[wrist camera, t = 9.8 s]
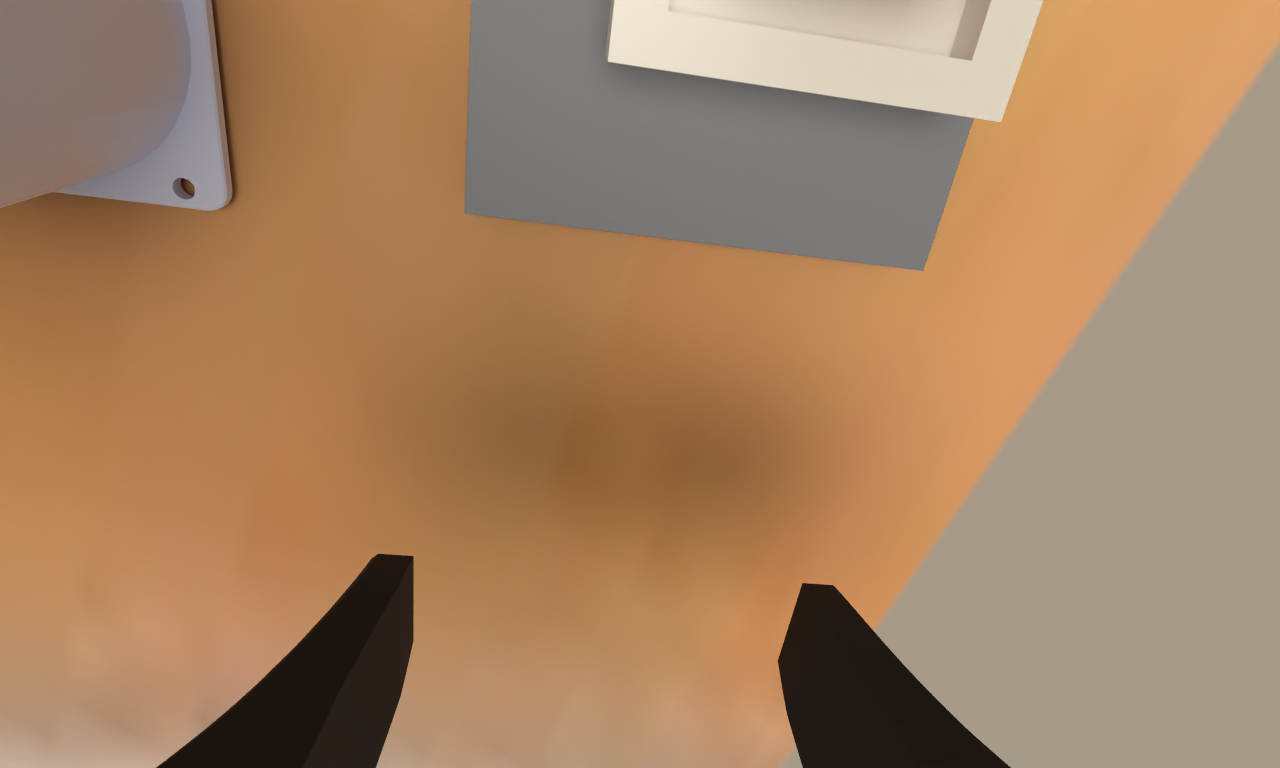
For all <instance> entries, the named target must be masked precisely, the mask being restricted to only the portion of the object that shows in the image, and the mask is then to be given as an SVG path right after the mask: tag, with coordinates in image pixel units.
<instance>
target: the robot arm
mask: <svg viewBox="0 0 1280 768" xmlns="http://www.w3.org/2000/svg"><path fill="white" fill-rule="evenodd" d="M182 178H184V179H187V180H189V181H190V182H191V183H192V184H193V186H194V188H195V195H194V196H191V195H189V194H187V193H186V192H185V191H184V190H183V189H182V186H181V179H182ZM51 192H57V193H65V194H73V195H82V196H90V197H98V198H107V199H115V200H123V201H131V202H140V203H148V204H156V205H165V206H173V207H181V208H189V209H198V210H206V211H213V210H218V209H220V208H222V207H224V206H226V205H227V204H228V203H229V202H230V200H231V199H232V182H231V173H230V164H229V155H228V146H227V137H226V128H225V119H224V110H223V101H222V92H221V83H220V74H219V65H218V56H217V47H216V38H215V29H214V20H213V11H212V2H211V0H0V208H3V207H6V206H10V205H13V204H16V203H19V202H22V201H25V200H29V199H32V198H35V197H38V196H41V195H44V194H48V193H51ZM412 644H413V556H402V555H387V554H377V555H376V556H375V557H373V558H372V559H371V560H370V562H369V563H368V564H367V565H366V567H365V568H364V569H363V571H362V572H361V573H360V574H359V576H358V577H357V578H356V579H355V581H354V582H353V583H352V584H351V585H350V587H349V588H348V589H347V590H346V591H345V593H344V594H343V595H342V596H341V597H340V598H339V599H338V601H337V602H336V603H335V604H334V605H333V606H332V608H331V609H330V610H329V611H328V612H327V613H326V614H325V615H324V616H323V617H322V619H321V620H320V621H319V622H318V623H317V624H316V625H315V626H314V627H313V628H312V629H311V631H310V632H309V633H308V634H307V635H306V636H305V637H304V638H303V639H302V640H301V641H300V642H299V643H298V644H297V645H296V646H295V647H294V649H293V650H291V651H290V652H289V653H288V654H287V655H286V656H285V657H284V658H283V659H282V660H281V661H280V662H279V663H278V664H277V665H276V666H275V667H274V668H273V669H272V670H271V671H270V672H269V673H268V674H267V675H266V676H265V677H264V678H263V679H262V680H261V681H260V682H259V683H258V684H257V685H256V686H254V687H253V688H252V689H251V690H250V691H249V692H248V693H247V694H246V695H245V696H243V697H242V698H241V699H240V700H239V701H238V702H237V703H236V704H234V705H233V706H232V707H231V708H230V709H229V710H228V711H226V712H225V713H224V714H223V715H222V716H221V717H219V718H218V719H217V720H216V721H215V722H213V723H212V724H211V725H210V726H209V727H208V728H206V729H205V730H204V731H203V732H201V733H200V734H199V735H198V736H196V737H195V738H194V739H193V740H191V741H190V742H189V743H187V744H186V745H185V746H184V747H182V748H181V749H180V750H178V751H177V752H176V753H175V754H173V755H172V756H171V757H170V758H168V759H167V760H166V761H164V762H163V763H162V764H160V765H159V766H158V767H156V768H376V765H377V763H378V760H379V757H380V754H381V751H382V748H383V745H384V743H385V740H386V737H387V734H388V731H389V728H390V725H391V722H392V720H393V717H394V714H395V711H396V708H397V705H398V702H399V699H400V696H401V692H402V688H403V684H404V679H405V675H406V671H407V666H408V662H409V658H410V653H411V649H412ZM778 664H779V670H780V677H781V683H782V689H783V695H784V700H785V705H786V711H787V715H788V719H789V722H790V726H791V729H792V733H793V736H794V739H795V743H796V746H797V749H798V752H799V756H800V759H801V763H802V766H803V768H1010V767H1009V766H1008V765H1007V764H1006V763H1005V762H1004V761H1002V760H1001V759H1000V758H999V757H998V756H997V755H995V754H994V753H993V752H992V751H991V750H990V749H989V748H988V747H986V746H985V745H984V744H983V743H982V742H981V741H980V740H978V739H977V738H976V737H975V736H974V735H973V734H972V733H971V732H970V731H968V729H966V728H965V727H964V726H963V725H962V724H961V723H960V722H959V721H958V720H957V719H956V718H955V717H954V716H953V715H952V714H951V713H950V712H949V711H948V710H946V708H945V707H944V706H943V705H942V704H941V703H940V702H939V701H938V700H937V699H936V698H935V697H934V696H933V695H932V694H931V693H930V692H929V691H928V690H927V689H926V688H925V687H924V686H923V685H922V684H921V683H920V682H919V681H918V680H917V679H916V678H915V677H914V675H913V674H912V673H911V672H910V671H909V670H908V669H907V668H906V667H905V666H904V665H903V664H902V662H901V661H900V660H899V659H898V658H897V657H896V656H895V655H894V654H893V653H892V651H891V650H890V649H889V648H888V647H887V646H886V645H885V644H884V643H883V642H882V640H881V639H880V638H879V637H878V636H877V634H876V633H875V632H874V631H873V630H872V629H871V628H870V626H869V625H868V624H867V623H866V622H865V621H864V620H863V618H862V617H861V616H860V615H859V614H858V613H857V611H856V610H855V609H854V608H853V607H852V606H851V605H850V603H849V602H848V601H847V600H846V599H845V598H844V597H843V595H842V594H841V593H840V592H839V591H838V590H837V589H836V588H835V587H834V586H833V585H821V584H807V583H802V587H801V590H800V593H799V596H798V599H797V602H796V605H795V609H794V612H793V615H792V618H791V621H790V624H789V627H788V631H787V634H786V637H785V640H784V643H783V646H782V649H781V653H780V656H779V659H778Z"/></svg>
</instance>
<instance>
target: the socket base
mask: <svg viewBox="0 0 1280 768" xmlns="http://www.w3.org/2000/svg"><path fill="white" fill-rule="evenodd" d="M1042 3H1043V0H611V6H610V15H609V24H608V33H607V42H606V51H605V56H606V59H607V61H608V62H613V63H619V64H626V65H632V66H639V67H646V68H652V69H659V70H665V71H672V72H678V73H685V74H691V75H698V76H704V77H711V78H717V79H724V80H730V81H737V82H743V83H750V84H756V85H763V86H769V87H776V88H782V89H789V90H795V91H802V92H808V93H815V94H821V95H828V96H834V97H841V98H847V99H854V100H860V101H867V102H873V103H880V104H886V105H893V106H899V107H906V108H913V109H919V110H926V111H932V112H939V113H945V114H952V115H958V116H965V117H971V118H978V119H984V120H991V121H997V122H1001V120H1002V118H1003V115H1004V112H1005V109H1006V106H1007V103H1008V100H1009V97H1010V95H1011V92H1012V89H1013V86H1014V83H1015V80H1016V77H1017V75H1018V72H1019V69H1020V66H1021V63H1022V60H1023V57H1024V54H1025V52H1026V49H1027V46H1028V43H1029V40H1030V37H1031V34H1032V32H1033V29H1034V26H1035V23H1036V20H1037V17H1038V14H1039V11H1040V9H1041V6H1042Z"/></svg>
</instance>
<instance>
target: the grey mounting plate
mask: <svg viewBox="0 0 1280 768" xmlns="http://www.w3.org/2000/svg"><path fill="white" fill-rule="evenodd" d="M610 6H611V0H472V1H471V32H470V62H469V92H468V123H467V153H466V184H465V213H466V214H473V215H481V216H489V217H497V218H505V219H513V220H521V221H529V222H537V223H545V224H553V225H561V226H569V227H577V228H585V229H593V230H601V231H609V232H617V233H625V234H633V235H641V236H649V237H657V238H665V239H673V240H681V241H689V242H697V243H705V244H713V245H721V246H729V247H737V248H745V249H753V250H761V251H769V252H777V253H785V254H793V255H800V256H808V257H816V258H824V259H832V260H840V261H848V262H856V263H864V264H872V265H880V266H888V267H896V268H904V269H912V270H920V271H923V270H924V267H925V264H926V261H927V258H928V255H929V252H930V249H931V246H932V243H933V240H934V237H935V234H936V231H937V228H938V225H939V222H940V219H941V216H942V213H943V210H944V207H945V204H946V201H947V198H948V195H949V192H950V189H951V186H952V183H953V180H954V177H955V174H956V171H957V168H958V165H959V162H960V159H961V156H962V152H963V149H964V146H965V143H966V140H967V137H968V134H969V131H970V128H971V125H972V122H973V119H974V118H971V117H965V116H958V115H952V114H945V113H939V112H932V111H926V110H919V109H913V108H906V107H899V106H893V105H886V104H880V103H873V102H867V101H860V100H854V99H847V98H841V97H834V96H828V95H821V94H815V93H808V92H802V91H795V90H789V89H782V88H776V87H769V86H763V85H756V84H750V83H743V82H737V81H730V80H724V79H717V78H711V77H704V76H698V75H691V74H685V73H678V72H672V71H665V70H659V69H652V68H646V67H639V66H632V65H626V64H619V63H613V62H608V61H607V59H606V56H605V51H606V42H607V33H608V24H609V15H610Z"/></svg>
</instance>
